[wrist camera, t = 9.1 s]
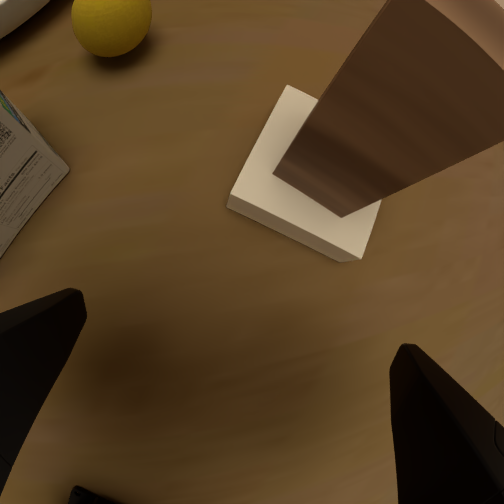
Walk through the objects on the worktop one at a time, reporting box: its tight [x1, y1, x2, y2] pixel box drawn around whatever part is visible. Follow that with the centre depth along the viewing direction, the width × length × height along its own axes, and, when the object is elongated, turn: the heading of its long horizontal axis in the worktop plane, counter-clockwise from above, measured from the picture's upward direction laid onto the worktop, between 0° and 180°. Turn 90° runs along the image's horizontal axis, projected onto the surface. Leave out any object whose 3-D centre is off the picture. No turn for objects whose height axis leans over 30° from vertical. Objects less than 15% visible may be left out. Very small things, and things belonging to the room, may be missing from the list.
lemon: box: [71, 0, 152, 57], centre depth 15 cm, size 6×6×8 cm
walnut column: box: [272, 0, 504, 218], centre depth 11 cm, size 4×4×13 cm
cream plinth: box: [226, 85, 382, 262], centre depth 19 cm, size 8×8×3 cm
